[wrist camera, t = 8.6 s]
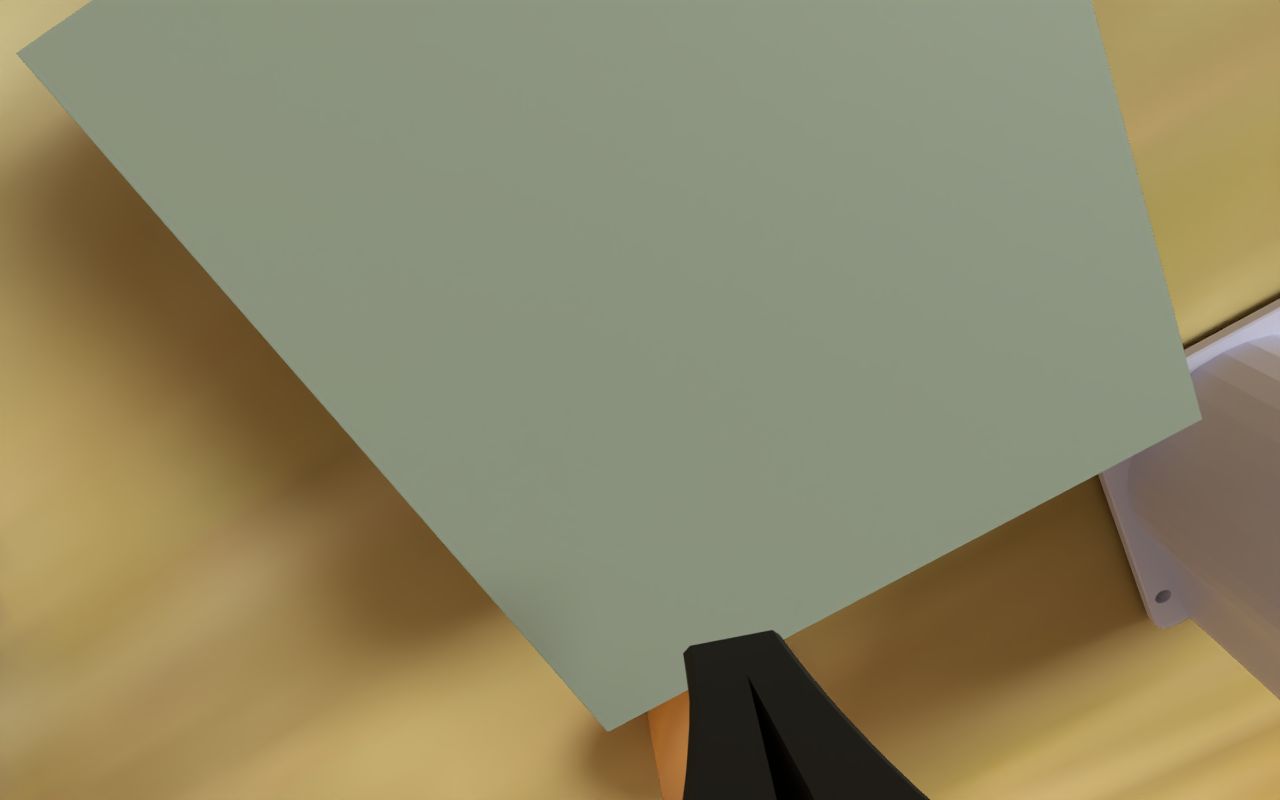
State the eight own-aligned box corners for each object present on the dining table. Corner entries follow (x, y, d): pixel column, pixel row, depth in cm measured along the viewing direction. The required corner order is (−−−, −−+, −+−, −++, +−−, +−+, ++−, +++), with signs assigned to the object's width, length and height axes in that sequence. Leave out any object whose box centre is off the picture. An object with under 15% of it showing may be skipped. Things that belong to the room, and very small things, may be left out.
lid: (1174, 402, 18) (1201, 419, 17) (604, 704, 19) (607, 732, 18) (908, -547, 11) (936, -588, 10) (45, 50, 12) (16, 53, 11)
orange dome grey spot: (831, 712, 27) (866, 791, 25) (694, 783, 28) (713, 867, 25) (765, 610, 25) (795, 684, 22) (616, 689, 26) (629, 771, 23)
